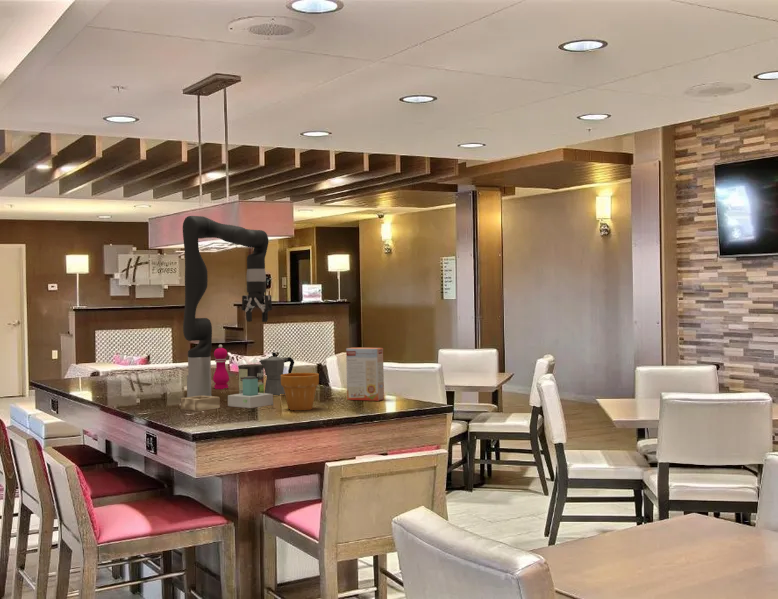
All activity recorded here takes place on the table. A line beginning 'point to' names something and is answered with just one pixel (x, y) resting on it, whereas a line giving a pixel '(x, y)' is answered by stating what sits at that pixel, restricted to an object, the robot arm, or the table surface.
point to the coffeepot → (275, 373)
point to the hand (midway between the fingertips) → (257, 321)
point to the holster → (200, 403)
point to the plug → (250, 386)
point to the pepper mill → (220, 369)
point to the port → (250, 400)
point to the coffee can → (251, 371)
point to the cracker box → (365, 374)
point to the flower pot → (300, 389)
